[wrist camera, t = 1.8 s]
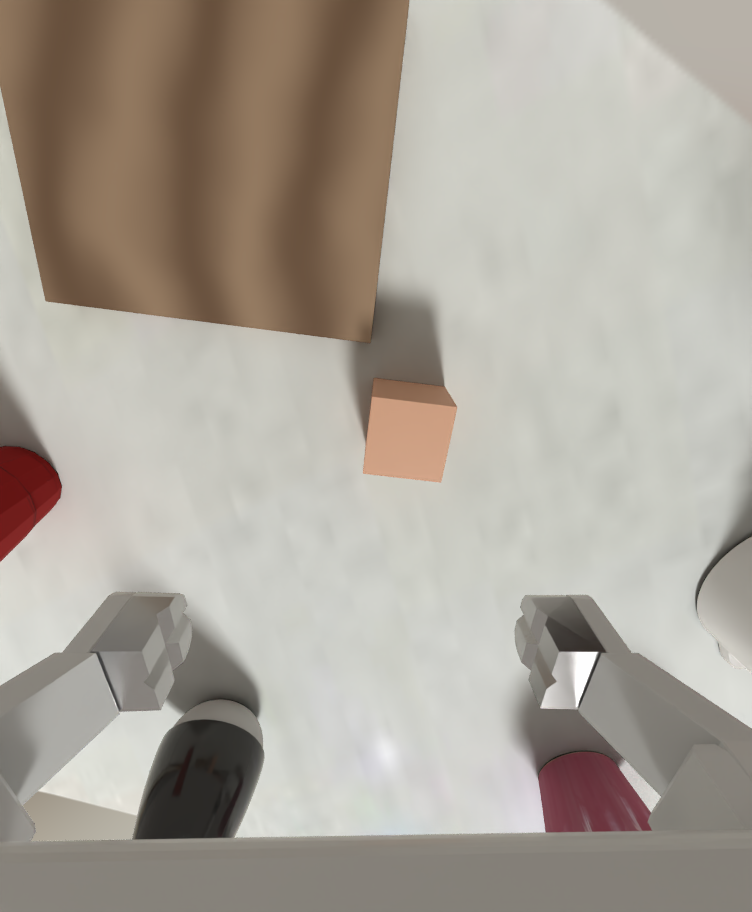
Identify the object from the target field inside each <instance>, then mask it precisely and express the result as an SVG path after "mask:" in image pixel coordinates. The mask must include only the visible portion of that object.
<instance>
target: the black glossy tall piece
mask: <svg viewBox="0 0 752 912" xmlns="http://www.w3.org/2000/svg"><path fill="white" fill-rule="evenodd" d="M263 763H264V750H263V736H262V730H261V727H260V724H259V722H258V720H257V718H256V717H255V715H254V714H253V713H252V712H251V711H250V710H249V709H248V708H246V707H245V706H243V705H242V704H239V703H237V702H234V701H230V700H211V701H206V702H203V703H201V704H199V705H197V706H195V707H193V708H192V709H190V710H189V711H188V712H186V713H185V714H184V715H183V716H182V717H181V718H180V719H179V720H178V722H177V723H176V724H175V725H174V727H173V728H171V729H170V730H169V731H168V732H167V733H166V734H165V736H164V737H163V739H162V741H161V743H160V746H159V748H158V750H157V753H156V755H155V758H154V761H153V764H152V766H151V769H150V772H149V775H148V778H147V782H146V785H145V788H144V792H143V795H142V799H141V803H140V807H139V811H138V815H137V819H136V824H135V828H134V833H133V838H132V839H190V838H234V837H235V835H236V833H237V831H238V829H239V827H240V825H241V822H242V820H243V818H244V816H245V813H246V811H247V809H248V806H249V804H250V801H251V799H252V796H253V793H254V791H255V788H256V785H257V783H258V780H259V777H260V774H261V771H262V767H263Z"/></svg>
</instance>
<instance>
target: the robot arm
mask: <svg viewBox="0 0 752 912" xmlns="http://www.w3.org/2000/svg"><path fill="white" fill-rule="evenodd" d="M186 607H187V603H186V600H185V596H184V595H183V594H180V593H152V592H137V593H136V592H115V593H113V594H111V595H109V596H108V597H107V598H106V600H105V601H104V602H103V603H102V605H101V606H100V607H99V608H98V609H97V611H96V612H95V613H94V614H93V616H92V617H91V618H90V619H89V620H88V622H87V623H86V624H85V625H84V627H83V628H82V629H81V630H80V631H79V633H78V634H77V635H76V636H75V638H74V639H73V640H72V641H71V642H70V644H69V645H68V646H67V647H66V649H65V650H64V651H63V652H62V653H54V654H52V655H50V656H49V657H47V658H45V659H44V660H42V661H40V662H39V663H37V664H35V665H34V666H32V667H30V668H29V669H27V670H26V671H24V672H22V673H21V674H19V675H17V676H16V677H14V678H12V679H11V680H9V681H7V682H6V683H4V684H2V685H1V686H0V912H752V729H751V728H750V727H748V726H747V725H745V724H744V723H742V722H741V721H739V720H738V719H736V718H735V717H733V716H732V715H730V714H729V713H727V712H726V711H724V710H723V709H721V708H720V707H718V706H717V705H715V704H714V703H712V702H711V701H709V700H708V699H706V698H705V697H703V696H702V695H700V694H699V693H697V692H696V691H694V690H693V689H691V688H690V687H688V686H687V685H685V684H684V683H682V682H681V681H679V680H678V679H676V678H675V677H673V676H672V675H670V674H669V673H667V672H666V671H664V670H663V669H661V668H660V667H658V666H657V665H655V664H654V663H652V662H651V661H649V660H648V659H646V658H645V657H643V656H642V655H640V654H639V653H631V651H630V650H629V648H628V647H627V646H626V644H625V643H624V641H623V640H622V639H621V637H620V636H619V635H618V633H617V632H616V630H615V629H614V628H613V626H612V625H611V623H610V622H609V621H608V619H607V618H606V616H605V615H604V614H603V612H602V611H601V610H600V608H599V607H598V605H597V604H596V603H595V601H594V600H593V599H592V598H591V597H590V596H588V595H566V596H565V595H525V596H524V598H523V599H522V602H521V606H520V608H521V610H522V612H523V614H524V615H523V616H521V617H520V618H519V619H518V620H517V621H516V626H515V644H516V648H517V652H518V655H519V657H520V660H521V662H522V663H523V664H524V665H525V666H526V667H528V668H529V669H530V670H531V673H530V677H529V682H530V685H531V687H532V689H533V692H534V694H535V697H536V699H537V701H538V704H539V706H540V708H543V709H579V710H578V712H579V713H580V714H581V715H582V716H583V717H584V718H585V719H586V720H587V721H588V722H589V723H590V724H591V725H592V726H593V727H594V728H595V729H596V730H597V732H598V733H599V734H600V735H601V736H602V737H603V738H604V739H605V740H606V741H607V742H608V743H609V744H610V745H611V746H612V747H613V748H614V749H615V750H616V751H617V752H618V753H619V754H620V755H621V756H622V757H623V758H624V759H625V760H626V761H627V762H628V763H629V764H630V765H631V766H632V767H633V768H634V769H635V770H636V771H637V772H638V773H639V775H640V776H641V777H642V778H643V779H644V780H645V781H646V782H647V783H648V784H649V785H650V786H651V787H652V788H653V789H654V790H655V791H656V792H657V793H658V794H659V795H660V796H661V798H660V799H659V801H658V803H657V804H656V806H655V807H654V809H653V811H652V812H651V814H650V816H649V820H648V823H649V825H650V827H651V829H652V831H606V832H545V833H484V834H424V835H365V836H307V837H249V838H190V839H132V840H74V841H31V839H32V838H33V836H34V834H35V832H36V830H35V823H34V822H33V821H32V819H31V818H30V816H29V815H28V813H27V812H26V810H25V809H24V807H23V806H22V805H23V804H24V803H25V802H27V801H28V800H29V799H30V798H31V797H32V796H33V795H34V794H35V793H36V792H37V791H38V790H39V789H40V788H41V787H43V786H44V785H45V784H46V783H47V782H48V781H49V780H50V779H51V778H52V777H53V776H54V775H55V774H56V773H57V772H59V771H60V770H61V769H62V768H63V767H64V766H65V765H66V764H67V763H68V762H69V761H70V760H71V759H72V758H73V757H75V756H76V755H77V754H78V753H79V752H80V751H81V750H82V749H83V748H84V747H85V746H86V745H87V744H88V743H89V742H90V741H92V740H93V739H94V738H95V737H96V736H97V735H98V734H99V733H100V732H101V731H102V730H103V729H104V728H105V727H106V726H108V725H109V724H110V723H111V722H112V721H113V720H114V719H115V718H116V717H117V716H118V715H119V714H120V713H119V712H122V711H151V710H161V708H162V706H163V704H164V702H165V700H166V698H167V696H168V694H169V692H170V690H171V688H172V685H173V683H174V681H175V679H174V675H173V672H172V671H173V670H174V669H176V668H177V667H178V666H179V665H181V664H182V663H183V662H184V660H185V658H186V656H187V654H188V651H189V648H190V644H191V639H192V624H191V620H190V619H189V618H188V617H187V616H186V615H185V614H184V613H183V612H184V610H185V609H186ZM697 612H698V617H699V620H700V622H701V624H702V625H703V627H704V628H705V629H706V630H707V631H708V632H709V633H710V634H711V635H712V636H713V637H715V639H716V640H717V641H718V642H719V648H720V653H721V656H722V657H723V659H724V660H726V661H727V662H728V663H729V664H730V665H731V666H732V667H734V668H736V669H747V670H748V671H749V672H750V673H751V674H752V536H751V537H750V538H748V539H746V540H745V541H743V542H742V543H740V544H739V545H737V546H736V547H735V548H733V549H732V550H731V551H730V552H729V553H727V554H726V555H725V556H724V557H723V558H722V559H721V560H720V561H719V562H718V563H717V564H716V565H715V566H714V568H713V569H712V570H711V572H710V573H709V574H708V576H707V577H706V579H705V581H704V583H703V585H702V587H701V589H700V592H699V595H698V600H697Z"/></svg>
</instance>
